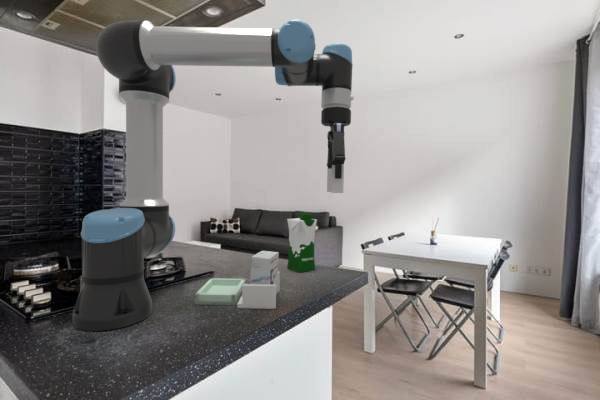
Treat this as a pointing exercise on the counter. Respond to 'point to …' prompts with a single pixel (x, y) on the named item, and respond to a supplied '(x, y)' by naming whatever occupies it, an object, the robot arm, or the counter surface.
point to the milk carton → (301, 243)
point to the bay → (259, 295)
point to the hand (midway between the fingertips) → (334, 192)
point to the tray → (220, 292)
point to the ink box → (265, 268)
